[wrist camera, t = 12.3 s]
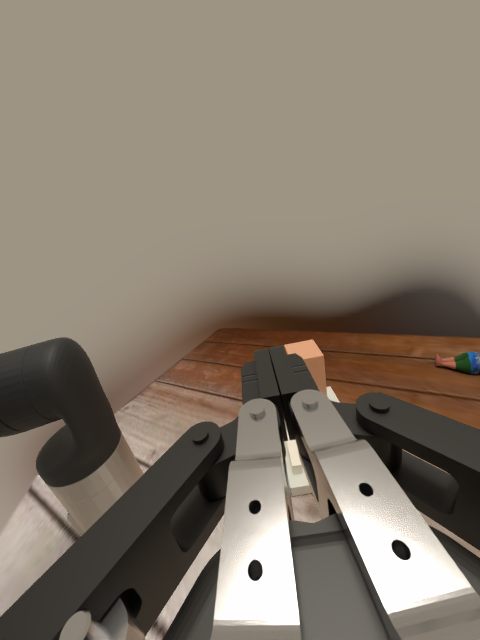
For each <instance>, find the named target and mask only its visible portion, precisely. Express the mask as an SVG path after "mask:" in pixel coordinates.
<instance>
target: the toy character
mask: <svg viewBox="0 0 480 640" xmlns="http://www.w3.org/2000/svg"><path fill="white" fill-rule="evenodd" d="M435 363H436V366H445V367H449V368H452V369H456V370H459V371H462V372H465V373H469V374H478V373H480V353H477V352H467V353H463V354H461V355H459V356H456V357H451V358H445V359H441V358H440V357H439V355H438V354H436V359H435Z"/></svg>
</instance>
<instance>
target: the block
mask: <svg viewBox="0 0 480 640" xmlns="http://www.w3.org/2000/svg"><path fill="white" fill-rule="evenodd" d="M284 347H285V352H286V355H288V354H293V353H296V354H298V355H299V356H301V357H302V358H303V360H304V362H305V364H306V366H307V368H308V369H309V371H310V373H311V375H312V377H313V379H314V381H315V383H316V385H317V387H318V389H319V391H320V392H322V393H324V394H325V395H326V396H327V388H326V377H325V365H324V355H323V354H322V352H321V351H320V350H319V348H318V347H317V345H316V344H315V342H314V341H313V340H308V341H303V342H297V343H292V344H287V345H284Z"/></svg>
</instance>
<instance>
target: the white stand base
mask: <svg viewBox="0 0 480 640" xmlns="http://www.w3.org/2000/svg"><path fill="white" fill-rule="evenodd" d="M326 388H327V397H328V398H329V400H331V401H334V402H338V403H340V402H339V401H338V399H337V397H336V395H335V394H334V392H333V390H332V389H331V387H326ZM284 421H285V420H284ZM285 426H286V424H285ZM286 432H287V437H288V441H284V444H285V449H286V464H287V471H288V479H289V485H290V489H291V494H292V496H298V495H304V494H311V493H312V491H311V489H310V486H309V483H308V480H307V478H306V475H305V472H304V469H303V467H302V464H301V461H300V458H299V453H298V447H297V443H296V440H290V439H289V435H288V431H287V428H286Z"/></svg>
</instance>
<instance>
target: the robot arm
mask: <svg viewBox="0 0 480 640" xmlns="http://www.w3.org/2000/svg"><path fill="white" fill-rule="evenodd" d="M269 354H270V356H269ZM254 358H255V361H252V362H247V363H245V364H244V366H243V367H242V369H241V376H242V398H243V406H242V407H241V409H240V411H239V416H238V417H237V418H236V419H235V420H234V421H232V422H231V423H229V424H227V425H224V426H222V427H220V428H219V427H218V425H217V424H215V423H213V422H201V423H198V424H196V425H194V426H192V427H191V428H190V429H189V430H187V431H186V432H185V433H184V434H183V435H182V436H181V437H180V438H179V439H178V440H177V441H176V442H175V443H174V444H173V445H172V446H171V447H170V448H169V449H168V450H167V451H166V452H165V453H164V454H163V455H162V456H161V457H160V458H159V459H158V460H157V461H156V462H155V463H154V464H153V465H152V466H151V467H150V468H149V469H148V470H147V471H146V472H145V473H144V474H143V472H142V470H141V468H140V466H139V464H138V462H137V460H136V458H135V457H134V455H133V453H132V451H131V449H130V447H129V445H128V444H127V442H126V440H125V438H124V436H123V434H122V432H121V430H120V429H119V427H118V425H117V423H116V420H115V417H114V414H113V411H112V408H111V406H110V403H109V401H108V399H107V397H106V395H105V393H104V391H103V389H102V386H101V384H100V382H99V380H98V377H97V375H96V372H95V370H94V368H93V365H92V363H91V361H90V359H89V357H88V356H87V354H86V352H85V351H84V350H83V348H82V347H81V346H80V345H79V344H78V343H77V342H75V341H73V340H72V339H69V338H56V339H52V340H48V341H45V342H41V343H37V344H34V345H30V346H27V347H23V348H20V349H16V350H13V351H9V352H6V353H2V354H0V437H5V436H10V435H15V434H19V433H22V432H25V431H28V430H31V429H34V428H37V427H40V426H43V425H45V424H48V423H51V422H54V421H57V420H60V419H63V420H64V422H65V423H66V425H65V426H64V427H62V428H61V429H60V430H59V431H58V432H56V433H55V434H54V435H53V436H52V437H51V438H50V439H49V440H48V441H47V443H46V444H45V445H44V446H43V448H42V449H41V451H40V452H39V455H38V457H37V460H36V469H37V471H38V473H39V475H40V476H41V478H42V479H43V480H44V482H45V483H46V484H47V485H48V487H49V488H50V489H51V491H52V492H53V493H54V494H55V496H56V497H57V498H58V499H59V501H60V502H61V503H62V504H63V506H64V507H65V508H66V510H67V511H68V512H69V513H68V516H67V518H68V520H69V522H70V523H71V524H72V525H73V527H74V528H75V529H76V530H77V532H78V533H79V534H80V535H81V537H80V538H79V539H78V540H77V541H76V542H75V543H74V544H73V545H72V546H71V547H70V548H69V549H68V550H67V551H66V552H65V553H64V554H63V555H62V556H61V557H60V558H59V559H58V560H57V561H56V562H55V563H54V564H53V565H52V566H51V567H50V568H49V569H48V570H47V571H46V572H45V573H44V574H43V575H42V576H41V577H40V578H39V579H38V580H37V581H36V582H35V583H34V584H33V585H32V586H31V587H30V588H29V589H28V590H27V591H26V592H25V593H24V594H23V595H22V596H21V597H20V598H19V599H18V600H17V601H16V602H15V603H14V604H13V605H12V606H11V607H10V608H9V609H8V610H7V611H6V612H5V613H4V614H3V615H2V616H1V617H0V640H145V636H146V634H147V633H148V631H149V630H150V628H151V627H152V625H153V623H154V622H155V620H156V619H157V617H158V616H159V614H160V613H161V611H162V609H163V608H164V606H165V605H166V603H167V602H168V600H169V599H170V597H171V595H172V594H173V592H174V591H175V589H176V588H177V586H178V585H179V583H180V581H181V580H182V578H183V577H184V575H185V574H186V572H187V571H188V569H189V567H190V566H191V564H192V563H193V561H194V560H195V558H196V557H197V555H198V553H199V552H200V550H201V549H202V547H203V546H204V544H205V543H206V541H207V539H208V538H209V536H210V535H211V533H212V532H213V530H214V529H215V527H216V526H217V524H218V522H219V521H220V519H221V518H222V516H223V515H224V522H223V532H222V542H221V549H220V550H219V551H218V552H217V553H216V554H215V555H214V556H213V557H212V558H211V559H210V560H209V562H208V563H207V565H206V566H205V567H204V569H203V570H202V572H201V573H200V575H199V577H198V578H197V580H196V582H195V584H194V585H193V587H192V589H191V591H190V592H189V594H188V596H187V598H186V599H185V601H184V603H183V605H182V606H181V608H180V610H179V612H178V613H177V615H176V617H175V619H174V620H173V622H172V624H171V626H170V627H169V629H168V631H167V633H166V634H165V636H164V638H163V640H480V558H479V557H477V556H476V555H475V554H473V553H472V552H470V551H469V550H467V549H466V548H465V547H463V546H462V545H460V544H459V543H458V542H456V541H455V540H453V539H452V538H450V537H449V536H447V535H445V534H444V533H442V532H440V531H439V530H437V529H435V528H433V527H431V526H429V525H427V523H426V522H425V521H424V519H423V518H422V516H421V515H420V514H419V512H418V511H417V510H419V511H420V512H422V513H423V514H425V515H426V516H428V517H429V518H431V519H432V520H434V521H435V522H437V523H439V524H440V525H442V526H443V527H445V528H446V529H448V530H449V531H451V532H452V533H454V534H455V535H457V536H458V537H460V538H461V539H463V540H464V541H466V542H467V543H469V544H471V545H472V546H474V547H475V548H477V549H478V550H480V430H479V429H477V428H474V427H471V426H469V425H466V424H463V423H461V422H458V421H455V420H453V419H450V418H447V417H445V416H442V415H440V414H437V413H434V412H432V411H429V410H426V409H424V408H421V407H418V406H416V405H413V404H410V403H408V402H405V401H402V400H400V399H397V398H394V397H392V396H389V395H386V394H382V393H366V394H363V395H361V396H360V397H359V398H358V399H357V400H356V404H349V403H338V402H334V401H331V400H329V398H328V397H327V396H326V395H325V394H324V393H322V392H320V391H319V389H318V387H317V385H316V383H315V381H314V379H313V377H312V375H311V373H310V371H309V369H308V368H307V366H306V364H305V362H304V360H303V358H302V357H301V356H299V355H298V354H296V353H293V354H288V355H286V352H285V350H284V347H283V345H282V346H277V347H272V348H269V352H268V349H262V350H257V351H254ZM270 359H271V360H270ZM284 420H285V421H284ZM285 424H286V426H285ZM286 428H287V431H288V435H289V439H290V440H296V443H297V447H298V453H299V458H300V461H301V464H302V467H303V469H304V472H305V475H306V478H307V480H308V483H309V486H310V489H311V491H312V494H313V497H314V499H315V502H316V505H317V508H318V511H319V514H320V518H321V520H320V521H318V522H316V523H306V522H300V521H294V515H293V508H292V501H291V493H290V486H289V479H288V471H287V464H286V449H285V444H284V441H288V437H287V432H286ZM402 449H404V450H406V451H408V452H410V453H412V454H414V455H416V456H418V457H419V458H421V459H423V460H425V461H427V462H429V463H431V464H433V465H435V466H437V467H439V468H441V469H443V470H445V471H446V472H448V473H449V474H450V475H449V474H447V473H445V472H443V471H441V470H440V469H438V468H436V467H434V466H432V465H430V464H428V463H426V462H424V461H422V460H420V459H418V458H416V457H414V456H412V455H410V454H409V453H407V452H405V451H403V450H402Z"/></svg>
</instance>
